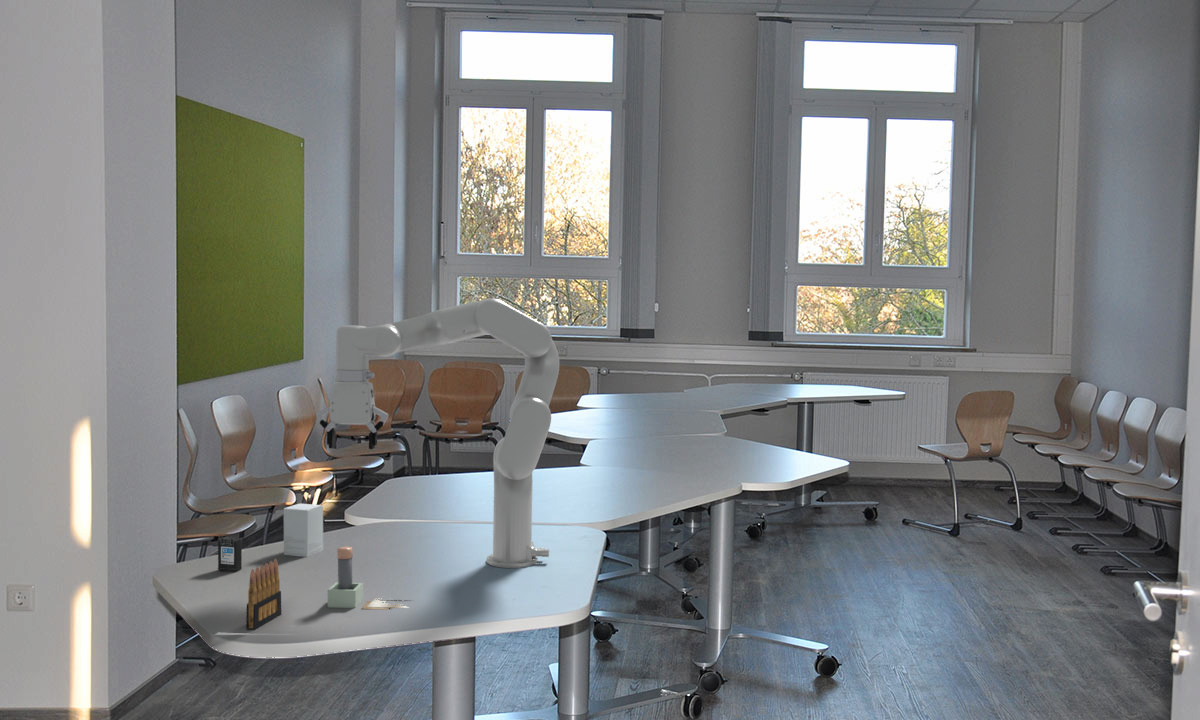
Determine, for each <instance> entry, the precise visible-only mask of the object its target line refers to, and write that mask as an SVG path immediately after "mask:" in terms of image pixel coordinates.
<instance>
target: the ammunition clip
mask: <svg viewBox="0 0 1200 720" xmlns="http://www.w3.org/2000/svg"><path fill="white" fill-rule="evenodd" d="M248 585H249V586H248V600H247V602H248V603H246V621H245V622H246V627H245V628H246V630H250V631H251V630H252V631H255V630H257V629H259V628H261V627H263V626H264V625H266V624H268V623H269V622H271V621H273V620H275V619H276V618H278V617H280V616H282V590H280V588H281V587H280V573H279V564H278V560H277V558H274V560H273V561H272V560H270V561H269V563H268V562H265V564H261V565H260V567H258V566H257V567H256V568H255V570H254V569H253V568H252V569H251V572H250V574H249V584H248Z"/></svg>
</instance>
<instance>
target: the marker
mask: <svg viewBox="0 0 1200 720" xmlns="http://www.w3.org/2000/svg"><path fill="white" fill-rule="evenodd" d="M336 551H337V552H336V553H337V555H336V556H337V582H338V589H346V590H353V583H354V582H353V558H354V556H353V555H354V554H353V553H354V552H353V547H352V546H341V547H337V549H336Z"/></svg>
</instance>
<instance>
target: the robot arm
mask: <svg viewBox="0 0 1200 720" xmlns="http://www.w3.org/2000/svg"><path fill="white" fill-rule="evenodd" d="M486 335H489V336H491V337H492V338H493V339H495V340H498V341H499V342H501V343H503V344H504V345H506V346H508V347H510V348H511V349H514V350H515V351H517V352H519V353H520V354H522V355H523V358H524V369H523V372H522V376H521V379H520V383H519V386H518V388H517V391H516V395H515V397H514V400H513V402H512V404H511V406H510V409H509V419H510V420H509V423H508V427H507V428H506V432H505V435H504V437H503V438H501V439H499V440H498V442H497V444H496V445H495V447H494V451H493V455H492V456H493V458H492V459H493V466H492V467H493V525H492V526H493V531H492V533H493V535H492V537H493V538H492V553H491V554H489V555H488V556H487V557H486V563H487V564H488V565H489V566H492V567H495V568H502V569H503V568H504V569H520V568H526V567H530V566H533V565H536V564H537V562H538V557H541V558H549V557H550V549H549V548H546V547H536V546H534V545H535V542H534V541H532V536H533V534H532V532H533V531H532V530H533V525H532V524H533V473H534V470H535V469H536V468H537V465H538V462H539V460H540V456H541V453H542V451H543V448H544V447H545V446H544V445H545V442H546V439H547V437H548V433H549V430H550V427H551V423H552V413H551V412H552V411H551V409H550V407H549V406H550V404H551V401H552V398H553V395H554V391H555V387H556V384H557V381H558V378H559V373H560V356H559V351H558V349H557V346H556V344H555V341H554V340H553V338H552V334H551V331H550V330H549V328H548V327H547V326H546V325H544V324H543V323H541V322H539V321H537V320H536V319H534V318H532V317H530V316H528V315H527V314H525V313H523V312H521V311H520V310H518V309H516V308H514V307H512V306H511V305H509V304H507V303H506V302H504V301H503V300H501V299H499V298H493V297H492V298H485V299H481V300H476V301H471V302H468V303H463V304H459V305H455V306H451V307H446V308H442V309H437V310H433V311H430V312H428V313H426V314H423V315H420V316H416V317H411V318H408V319H402V320H398V321H395V322H394V321H393V322H390V323H385V324H380V325H377V326H376V325H375V326H364V325H353V324H351V325H349V324H348V325H341V326H339V327H337V330H336V356H335V358H336V369H335V370H336V371H335V374H336V376H335V381H334V382H333V384H332V388H331V395H330V403H329V404H330V405H329V406H327V407H325V408H323V409H321V410H320V411H317V412H316V413H315V416H316V418H317V420H318V422H319V425H321V427H322V428H323V429H324V431H326V444H327V445H328V448H329V449H333V448H336V444H337V442H336V441H337V440H336V435H337V434H336V430H335V428H336V426H338V425H356V426H357V425H362V426H363V425H365V426H366V427H367V428H368V429H369V433H368V450H373V449H375V448H376V446H377V445H378V432H379V430H381V428H383V426H385V423H386V422H387V420H388V418H389V413H388V412H385V411H384V410H382V409H380V408H378V407H376V403H375V402H376V401H375V393H374V385H373V382H369V381H370V379H374V378H375V376H376V375H375V372H372V371H370V369H369V368H370V367H369V361H370V360H369V356H374V357H376V356H377V357H383V358H384V357H385V358H387V357H391V356H393V355H395V354H397V353H400V352H405V351H408V350H409V351H410V350H413V349H417V348H422V347H429V346H443V345H444V346H445V345H448V344H452V343H458V342H461V341H466V340H470V339H474V338H477V337H483V336H486ZM327 414H329V420H330V421H329V422H328V421H327V419H326V418H325V415H327ZM376 415H377V416H379V417H380V419H379V421H378V422H377V423H376V422H375V421H376Z"/></svg>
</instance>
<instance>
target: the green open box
mask: <svg viewBox="0 0 1200 720" xmlns="http://www.w3.org/2000/svg"><path fill="white" fill-rule="evenodd" d="M352 583H353V590H346V589H338V581H337V582H336V581H335V582H334V584H332V585H331V586H330V587H329V588H327V608H328V609H329V608H331V609H332V608H334V609H335V608H340V609H342V608H344V609H345V608H347V609H349V608H351V609H354V608H357V607H358V606H359V604H360V603H361V602H362V601H363V599H364V582H352Z"/></svg>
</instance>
